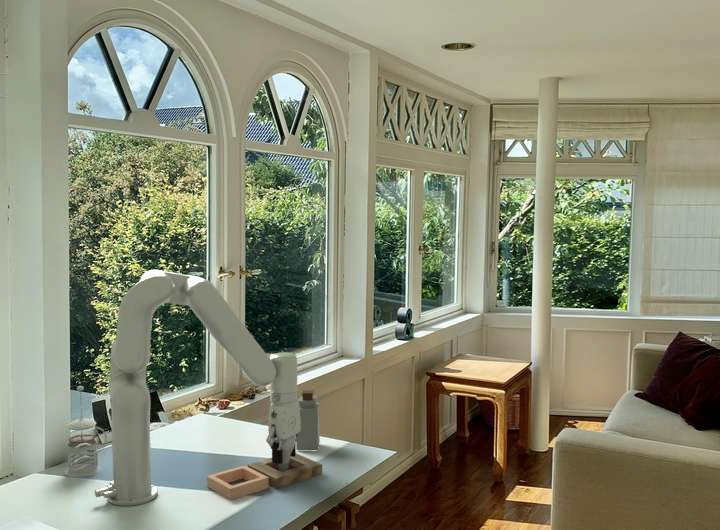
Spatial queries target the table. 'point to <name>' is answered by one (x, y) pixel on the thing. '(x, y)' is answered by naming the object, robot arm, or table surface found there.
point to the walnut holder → (288, 471)
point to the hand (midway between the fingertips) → (283, 458)
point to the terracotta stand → (252, 484)
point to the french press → (83, 448)
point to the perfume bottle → (308, 422)
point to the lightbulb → (286, 452)
